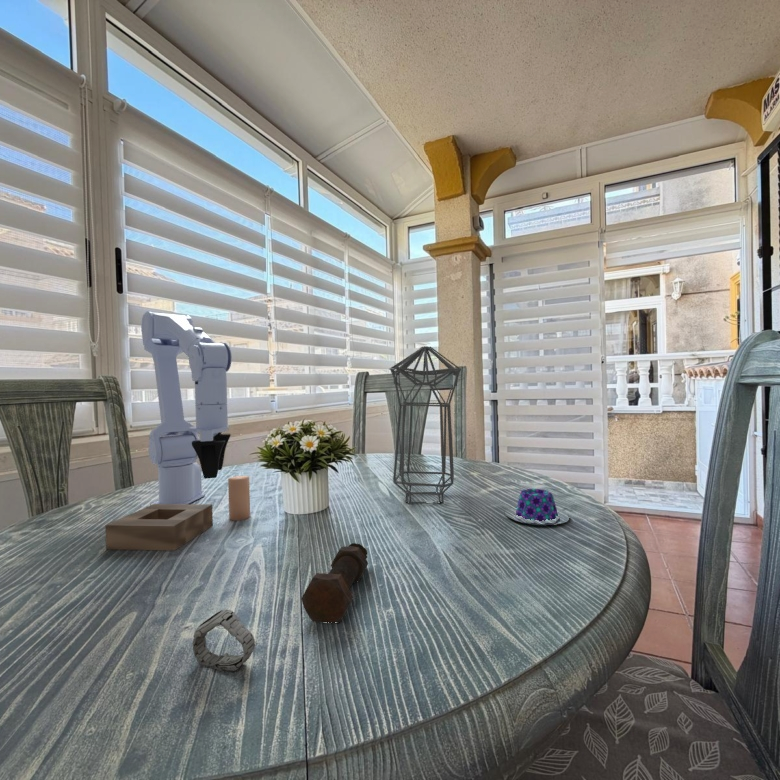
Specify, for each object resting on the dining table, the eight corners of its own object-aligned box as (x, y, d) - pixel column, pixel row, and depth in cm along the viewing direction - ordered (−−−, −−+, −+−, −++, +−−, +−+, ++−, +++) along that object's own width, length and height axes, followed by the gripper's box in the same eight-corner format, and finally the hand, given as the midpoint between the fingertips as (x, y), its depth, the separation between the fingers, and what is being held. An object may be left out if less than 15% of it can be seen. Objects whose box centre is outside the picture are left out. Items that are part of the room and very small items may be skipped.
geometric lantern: (395, 489, 104) (395, 349, 104) (459, 491, 102) (459, 349, 102) (386, 507, 88) (386, 342, 88) (461, 510, 86) (461, 342, 86)
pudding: (574, 532, 73) (573, 502, 73) (503, 526, 76) (502, 498, 76) (566, 511, 84) (566, 486, 84) (505, 507, 88) (504, 483, 88)
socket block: (154, 524, 81) (153, 504, 81) (212, 525, 80) (212, 504, 79) (106, 549, 69) (105, 525, 69) (174, 550, 68) (173, 526, 68)
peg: (235, 514, 86) (233, 475, 86) (253, 514, 86) (252, 475, 86) (225, 520, 82) (224, 480, 82) (244, 520, 82) (243, 480, 82)
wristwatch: (209, 649, 42) (207, 600, 42) (262, 659, 40) (260, 608, 40) (182, 672, 39) (181, 619, 39) (239, 684, 37) (237, 629, 37)
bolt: (362, 578, 61) (331, 637, 46) (333, 559, 62) (294, 611, 47) (381, 544, 60) (356, 592, 46) (352, 526, 61) (317, 567, 46)
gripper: (196, 403, 87) (197, 468, 87) (180, 406, 73) (183, 483, 73) (231, 402, 89) (233, 465, 89) (223, 405, 75) (225, 480, 75)
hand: (213, 473), depth 81 cm, fingers open, 7 cm apart
